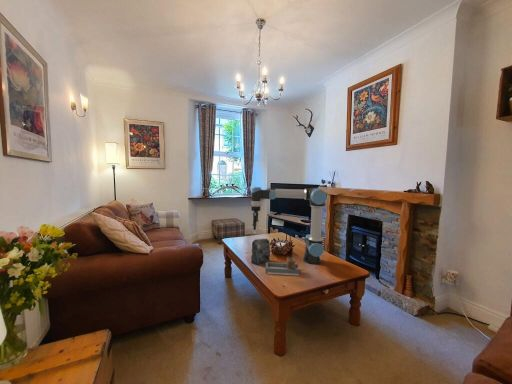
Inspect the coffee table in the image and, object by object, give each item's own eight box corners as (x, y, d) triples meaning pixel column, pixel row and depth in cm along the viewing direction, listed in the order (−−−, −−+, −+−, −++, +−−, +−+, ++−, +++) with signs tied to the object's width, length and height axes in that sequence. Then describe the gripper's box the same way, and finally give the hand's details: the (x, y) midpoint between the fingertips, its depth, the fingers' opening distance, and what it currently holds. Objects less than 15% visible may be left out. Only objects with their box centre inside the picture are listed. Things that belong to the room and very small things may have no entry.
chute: (297, 268, 182) (297, 263, 181) (299, 275, 169) (299, 270, 169) (265, 266, 184) (266, 261, 183) (265, 273, 171) (265, 268, 171)
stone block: (255, 265, 185) (255, 242, 183) (249, 262, 192) (249, 239, 191) (272, 261, 195) (273, 238, 193) (266, 257, 203) (267, 236, 201)
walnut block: (294, 267, 180) (294, 257, 179) (294, 272, 172) (295, 261, 171) (286, 267, 180) (286, 257, 179) (287, 271, 172) (287, 261, 171)
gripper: (252, 203, 197) (252, 227, 199) (249, 208, 172) (249, 235, 174) (261, 203, 196) (260, 227, 198) (259, 208, 172) (258, 235, 174)
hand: (255, 231), depth 186 cm, fingers open, 13 cm apart
